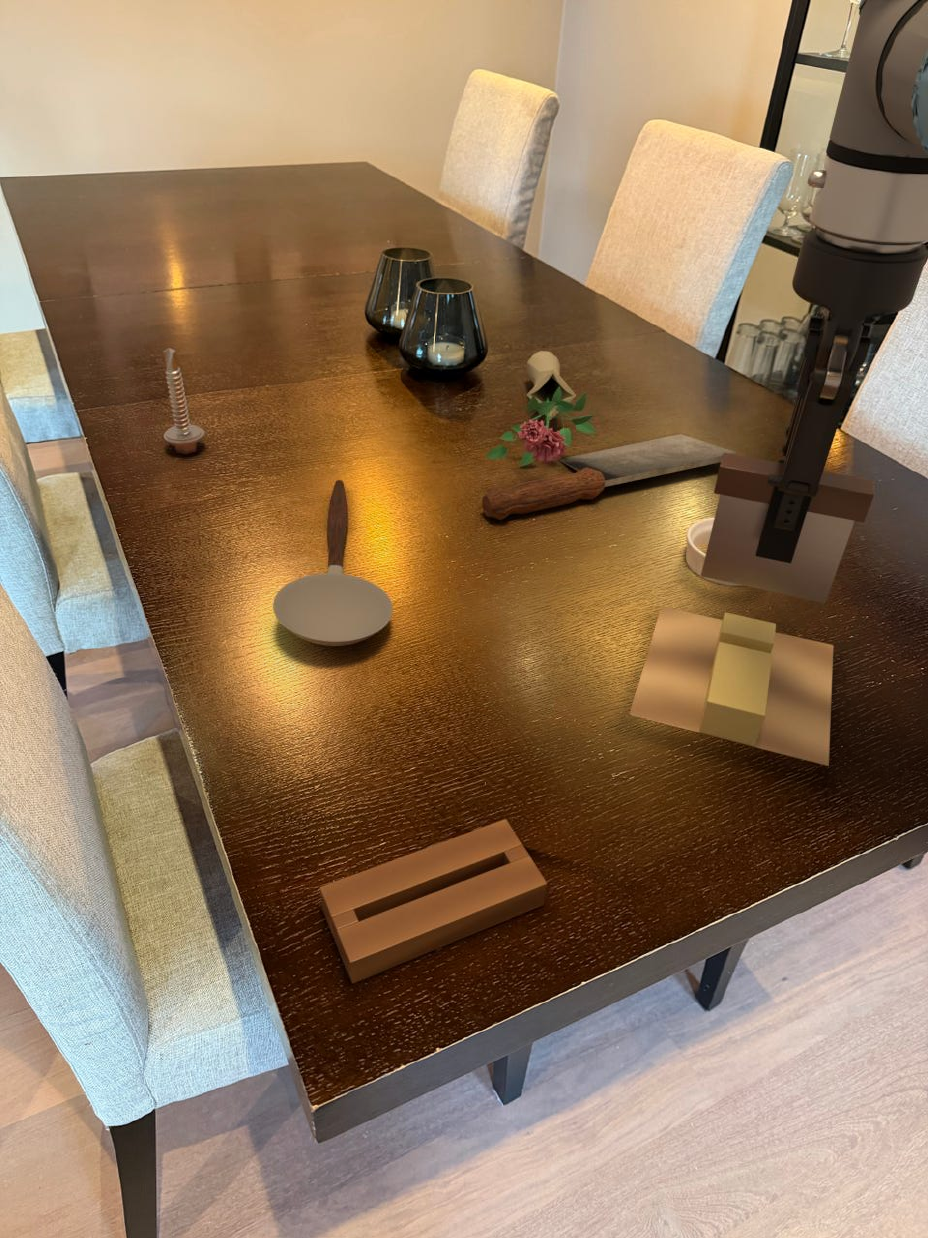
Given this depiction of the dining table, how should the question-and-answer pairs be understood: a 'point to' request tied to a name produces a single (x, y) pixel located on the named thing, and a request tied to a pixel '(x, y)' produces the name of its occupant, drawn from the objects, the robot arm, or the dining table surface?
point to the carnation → (546, 413)
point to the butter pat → (747, 633)
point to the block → (430, 899)
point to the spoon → (333, 594)
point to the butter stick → (737, 694)
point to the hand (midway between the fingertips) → (775, 546)
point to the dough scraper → (745, 519)
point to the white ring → (697, 538)
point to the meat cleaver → (602, 474)
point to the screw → (179, 410)
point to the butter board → (793, 694)
